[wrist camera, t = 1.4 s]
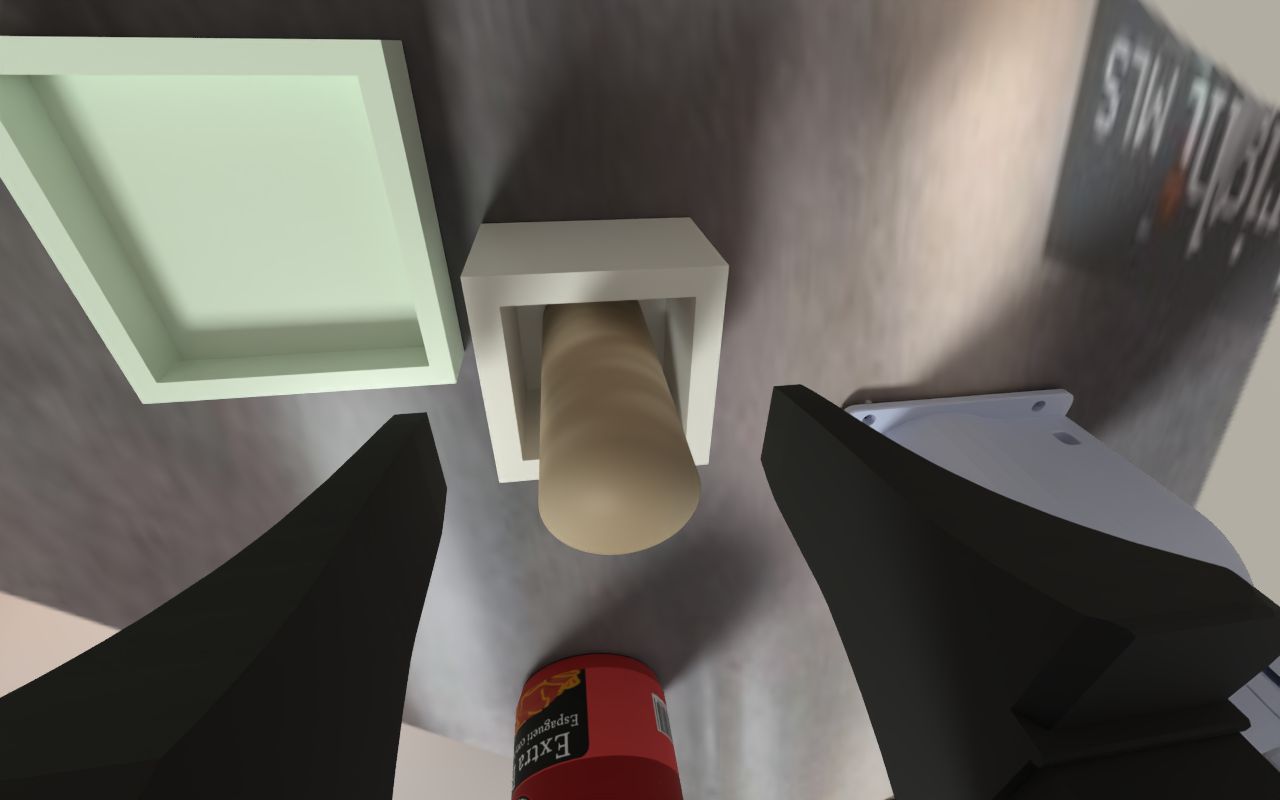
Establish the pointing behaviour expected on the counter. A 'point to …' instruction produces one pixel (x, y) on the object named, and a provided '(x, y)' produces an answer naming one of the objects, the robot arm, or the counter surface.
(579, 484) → the dowel
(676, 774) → the canned food
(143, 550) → the counter surface
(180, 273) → the tray
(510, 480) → the white open box
